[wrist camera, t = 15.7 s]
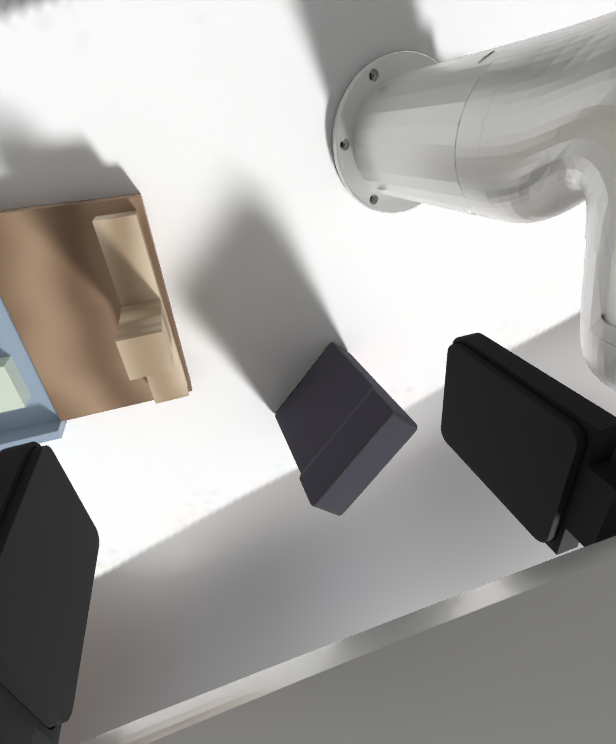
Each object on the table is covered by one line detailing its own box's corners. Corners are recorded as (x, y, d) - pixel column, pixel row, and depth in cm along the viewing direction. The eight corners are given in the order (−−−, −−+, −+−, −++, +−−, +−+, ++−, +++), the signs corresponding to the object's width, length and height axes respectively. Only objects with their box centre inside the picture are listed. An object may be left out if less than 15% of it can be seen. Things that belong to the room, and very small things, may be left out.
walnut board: (140, 193, 33) (140, 196, 32) (190, 381, 43) (192, 390, 41) (-27, 213, 31) (-37, 217, 29) (64, 409, 40) (61, 421, 38)
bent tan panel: (136, 210, 32) (131, 232, 24) (187, 382, 40) (195, 440, 33) (95, 216, 32) (77, 240, 24) (155, 390, 40) (156, 451, 32)
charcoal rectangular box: (297, 426, 50) (345, 520, 38) (269, 412, 48) (311, 508, 35) (354, 355, 48) (425, 430, 35) (327, 337, 46) (394, 411, 33)
